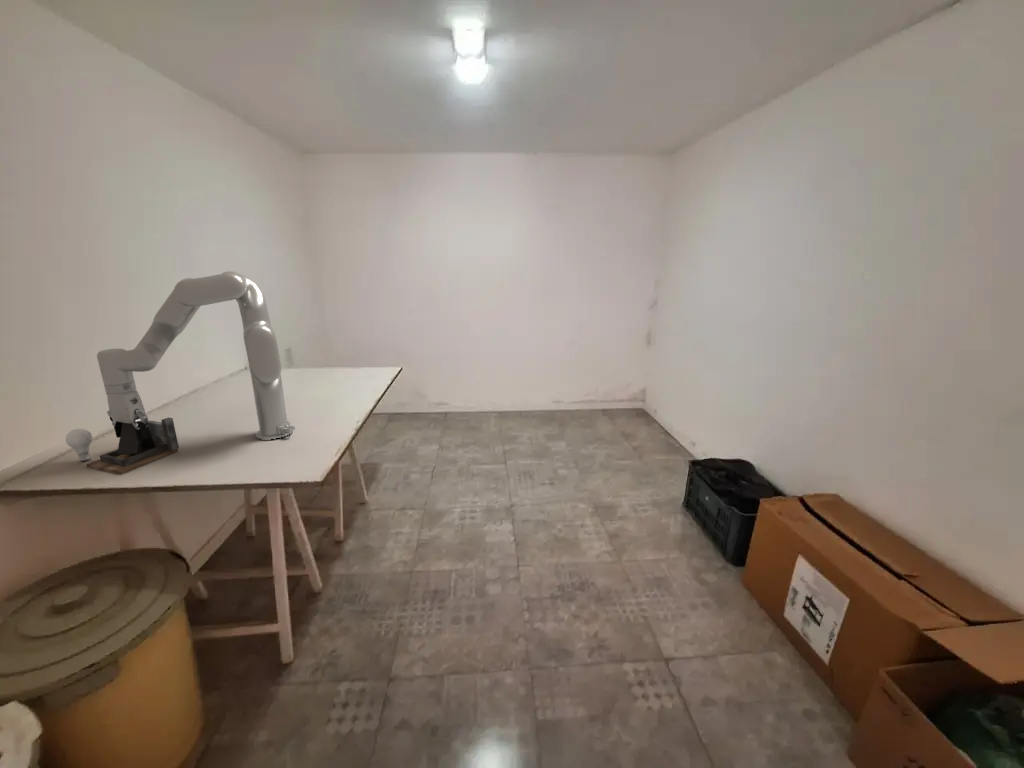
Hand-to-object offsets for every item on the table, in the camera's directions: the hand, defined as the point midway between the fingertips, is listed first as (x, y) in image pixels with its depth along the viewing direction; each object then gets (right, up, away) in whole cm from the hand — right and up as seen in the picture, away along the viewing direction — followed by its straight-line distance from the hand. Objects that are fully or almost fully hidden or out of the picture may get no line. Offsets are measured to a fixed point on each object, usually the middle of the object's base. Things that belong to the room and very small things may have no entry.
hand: (132, 437), depth 153 cm
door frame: (0, -7, +1) cm, 7 cm away
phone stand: (0, -5, +1) cm, 5 cm away
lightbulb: (-16, -8, 0) cm, 17 cm away
